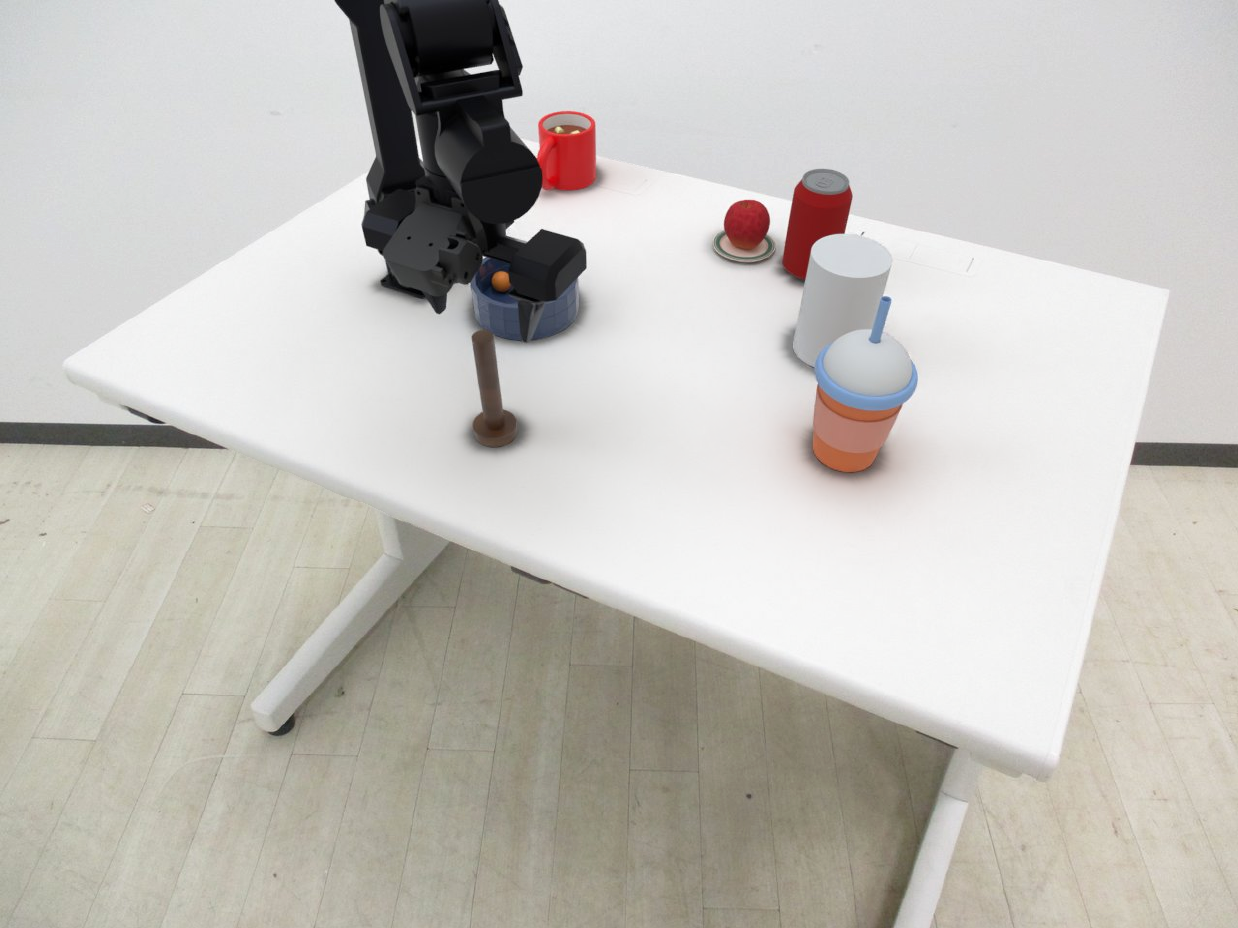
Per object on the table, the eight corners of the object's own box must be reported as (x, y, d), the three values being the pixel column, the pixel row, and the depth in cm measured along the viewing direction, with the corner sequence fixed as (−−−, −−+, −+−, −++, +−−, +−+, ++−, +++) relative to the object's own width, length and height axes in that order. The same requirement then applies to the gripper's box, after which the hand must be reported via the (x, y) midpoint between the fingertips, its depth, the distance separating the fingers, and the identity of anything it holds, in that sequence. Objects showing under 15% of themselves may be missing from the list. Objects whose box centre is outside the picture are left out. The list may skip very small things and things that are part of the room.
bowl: (454, 322, 98) (448, 289, 94) (510, 269, 105) (506, 237, 102) (545, 352, 94) (543, 319, 91) (597, 295, 101) (596, 263, 98)
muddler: (464, 434, 85) (447, 339, 76) (494, 411, 87) (481, 316, 79) (497, 453, 83) (483, 358, 74) (526, 428, 85) (517, 333, 77)
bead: (490, 270, 100) (486, 278, 98) (510, 266, 100) (506, 274, 98) (497, 288, 102) (493, 297, 100) (516, 284, 101) (512, 293, 99)
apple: (704, 256, 107) (708, 210, 103) (723, 226, 112) (728, 180, 108) (765, 270, 105) (772, 223, 100) (781, 238, 110) (789, 192, 106)
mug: (517, 196, 118) (512, 141, 112) (557, 159, 125) (554, 106, 119) (567, 209, 115) (565, 153, 110) (605, 170, 123) (605, 117, 117)
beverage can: (844, 265, 106) (864, 175, 98) (822, 291, 102) (842, 200, 94) (794, 249, 109) (810, 160, 100) (771, 274, 105) (786, 184, 96)
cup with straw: (891, 491, 80) (945, 339, 67) (794, 476, 81) (829, 324, 68) (889, 425, 86) (939, 275, 73) (799, 413, 87) (832, 263, 74)
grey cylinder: (874, 337, 96) (900, 245, 87) (856, 380, 91) (882, 285, 82) (804, 319, 98) (823, 227, 90) (783, 359, 93) (801, 265, 85)
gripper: (294, 178, 62) (342, 346, 74) (509, 241, 57) (526, 412, 68) (387, 120, 69) (418, 281, 81) (587, 170, 64) (591, 336, 75)
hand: (483, 325), depth 76 cm, fingers open, 9 cm apart
